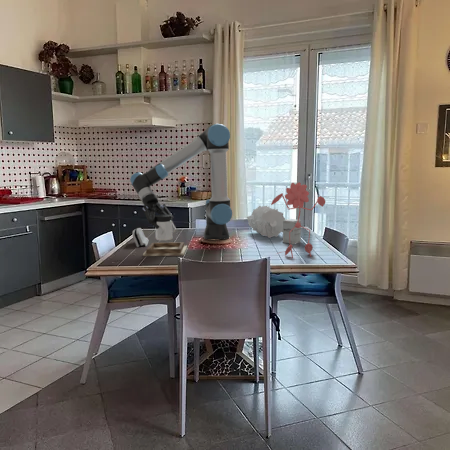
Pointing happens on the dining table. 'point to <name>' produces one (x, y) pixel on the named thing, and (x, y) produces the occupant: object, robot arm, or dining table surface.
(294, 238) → the supplement box
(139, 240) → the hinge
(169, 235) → the jar
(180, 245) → the jar stand
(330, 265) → the dining table surface
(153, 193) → the robot arm
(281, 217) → the grey rounded scaly piece
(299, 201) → the figurine
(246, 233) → the dining table surface
